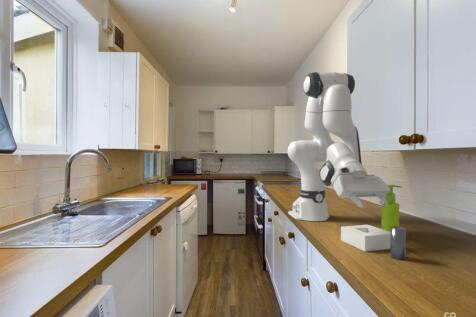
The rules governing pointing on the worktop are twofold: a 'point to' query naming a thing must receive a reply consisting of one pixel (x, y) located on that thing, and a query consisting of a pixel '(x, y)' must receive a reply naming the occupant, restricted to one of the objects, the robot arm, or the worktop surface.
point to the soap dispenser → (390, 211)
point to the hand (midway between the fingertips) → (373, 205)
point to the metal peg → (398, 243)
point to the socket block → (366, 237)
